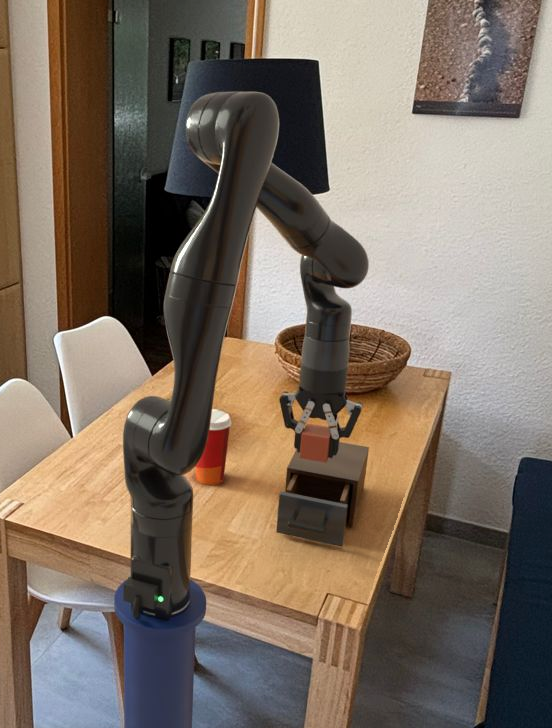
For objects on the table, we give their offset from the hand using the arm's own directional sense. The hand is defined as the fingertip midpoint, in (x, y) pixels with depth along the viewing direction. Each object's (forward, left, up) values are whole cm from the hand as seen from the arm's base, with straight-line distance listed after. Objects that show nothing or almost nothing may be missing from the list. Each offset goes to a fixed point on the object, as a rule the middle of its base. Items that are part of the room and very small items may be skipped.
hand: (315, 453), depth 134 cm
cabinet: (+11, -1, -15) cm, 19 cm away
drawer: (-1, -1, -14) cm, 14 cm away
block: (0, 0, 0) cm, 0 cm away
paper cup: (+11, +22, -16) cm, 29 cm away
